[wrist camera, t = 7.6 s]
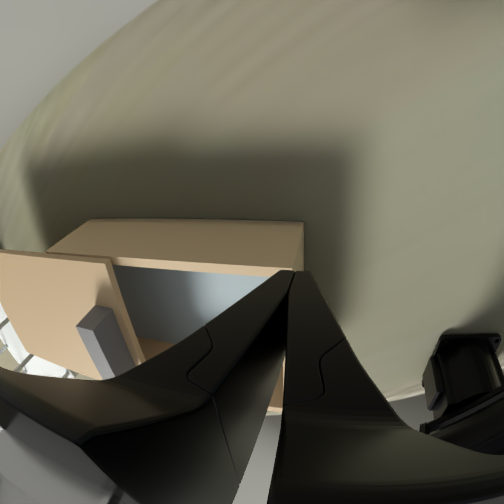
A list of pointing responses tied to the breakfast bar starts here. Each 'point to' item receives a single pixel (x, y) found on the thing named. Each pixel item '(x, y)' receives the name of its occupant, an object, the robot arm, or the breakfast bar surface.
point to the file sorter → (28, 354)
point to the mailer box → (187, 270)
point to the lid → (69, 312)
